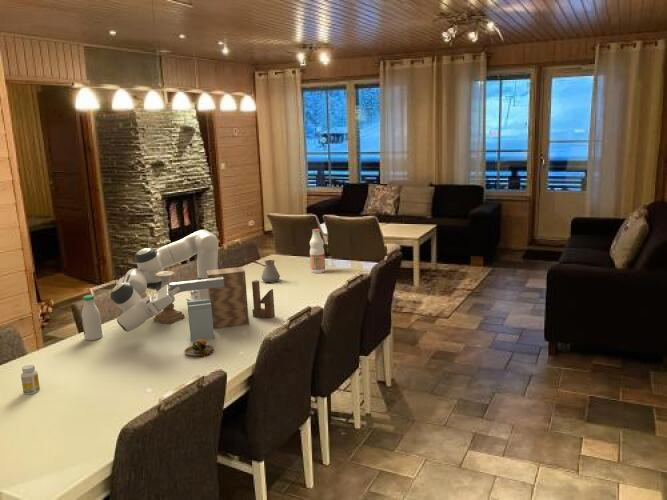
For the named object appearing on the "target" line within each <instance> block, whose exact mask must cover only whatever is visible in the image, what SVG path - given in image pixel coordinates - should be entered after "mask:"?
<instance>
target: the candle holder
mask: <svg viewBox="0 0 667 500" xmlns="http://www.w3.org/2000/svg"><path fill="white" fill-rule="evenodd" d="M175 275H176V271H174V270H165V271H162V272H157V273H155V274H154V277H157V278H159V279H160V280H161V281H162V284H161V286H160V287H161V288H162V287H164V286H165V285H169V287H170V283H171V282H170V279H171V277H173V276H175ZM161 288H160V289H161ZM175 299H176V298H175V295H173V296H172V302H171V303H170V304H169V305H168V306H167V307H165V308H164V309H163V310H162V311H160V313H159V314H158V315H157V316H155V315H154V317H152V319H153V322H154V323H157V322H159V323H160V324H166V325H172V324H174V323H177V322H178V321H180V319H181V320H183V319H184V317H185V316H186V315H185V314H184V313H183V312H182V311H181V310H177V309H175V308H174V307H175V304H174V302H175V301H176V300H175ZM182 318H183V319H182ZM185 318H186V317H185ZM159 323H158V324H159Z"/></svg>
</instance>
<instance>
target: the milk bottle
mask: <svg viewBox="0 0 667 500" xmlns="http://www.w3.org/2000/svg"><path fill="white" fill-rule="evenodd" d="M82 301H83V307H82V310H81V322H82V329H83V337H84V340H86V341H95V340H99V339H101V338H103V328H102V320H101V313H100V310H99V309H98V306H97V305H96V304H95V295H93V294H87V295H83V296H82Z"/></svg>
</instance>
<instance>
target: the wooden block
mask: <svg viewBox="0 0 667 500" xmlns="http://www.w3.org/2000/svg"><path fill="white" fill-rule="evenodd" d="M260 287H261V286H260V279H259V280H257V279H255V280H251V288H252V299H253V300H252V301H253V308H252V317H256V318H266V319H272V318H274V317H275V316H276V314H275V313H276V312H275V299H274V288H271V289H269V291H268V292H267V293H265V295H264V296H263V297H261V288H260ZM262 304H263V305H264V308H263V307H262Z"/></svg>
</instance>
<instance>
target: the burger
mask: <svg viewBox="0 0 667 500" xmlns="http://www.w3.org/2000/svg"><path fill="white" fill-rule="evenodd" d="M203 336H204V335H203ZM195 342H196V343H195ZM195 342H193V343H192V345H191V346H189V347H187V348H186V349H185V350H184V353H185V354H186V355H188V356H192V357H199V356H202V358H206V357H208V354H209V355H213V354H214V351H215V350H214V346H212V345H211V344H207V341H206V339H198V340H197V341H195Z"/></svg>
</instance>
